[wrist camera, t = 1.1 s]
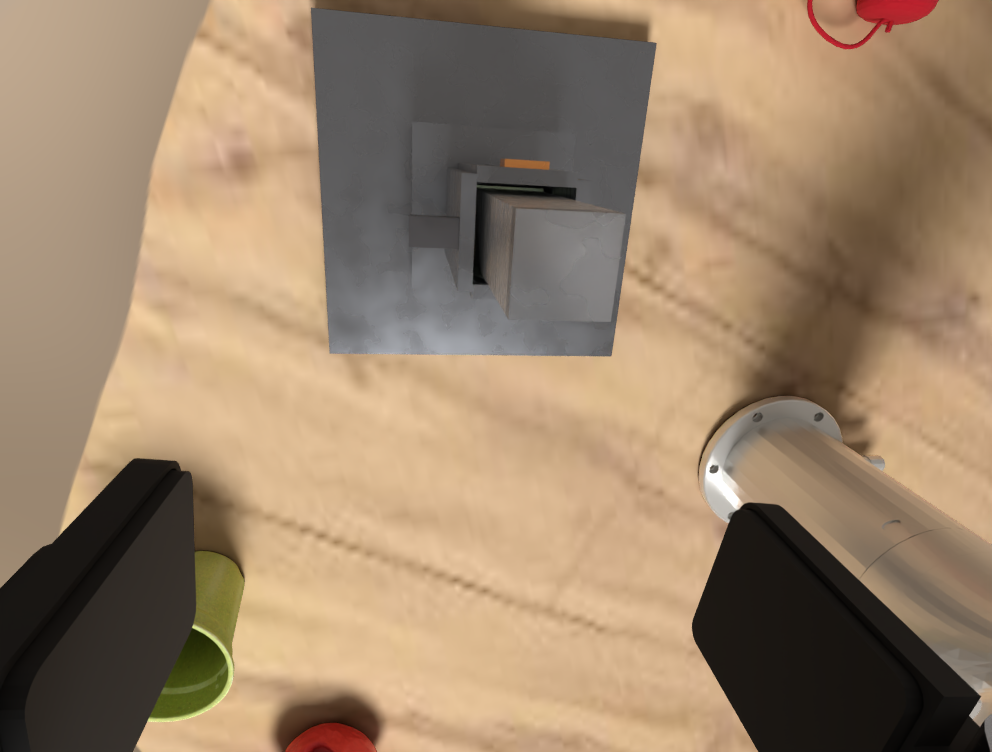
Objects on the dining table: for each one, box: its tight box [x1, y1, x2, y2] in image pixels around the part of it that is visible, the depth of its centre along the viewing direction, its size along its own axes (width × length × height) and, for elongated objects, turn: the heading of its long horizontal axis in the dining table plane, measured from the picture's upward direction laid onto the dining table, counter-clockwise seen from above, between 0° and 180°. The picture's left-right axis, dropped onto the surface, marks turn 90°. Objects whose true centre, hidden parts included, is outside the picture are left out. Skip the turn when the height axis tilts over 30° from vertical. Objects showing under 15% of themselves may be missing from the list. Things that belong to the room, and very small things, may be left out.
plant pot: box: [148, 551, 244, 722], centre depth 40 cm, size 9×9×9 cm
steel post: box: [473, 183, 626, 322], centre depth 24 cm, size 3×3×17 cm
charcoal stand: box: [311, 8, 657, 356], centre depth 29 cm, size 20×20×16 cm
